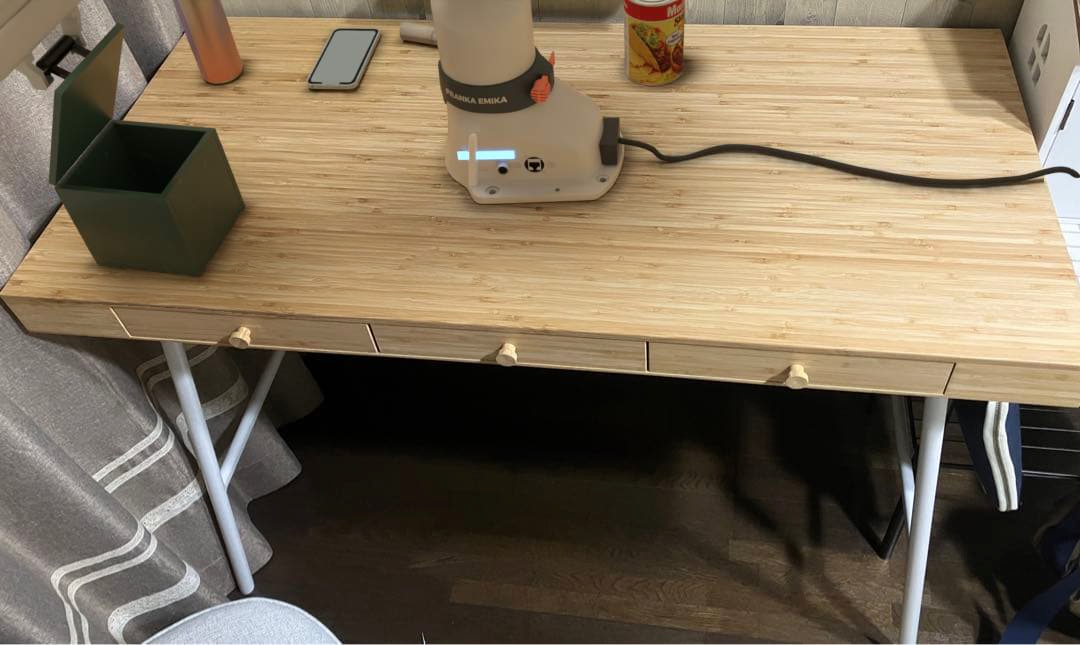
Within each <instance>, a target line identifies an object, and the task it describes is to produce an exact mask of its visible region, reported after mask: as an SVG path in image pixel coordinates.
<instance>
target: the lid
mask: <svg viewBox="0 0 1080 645" xmlns="http://www.w3.org/2000/svg"><path fill="white" fill-rule="evenodd" d="M125 27H126V25H125V24H122V23H120V22H117V23H115V24H114V26H113V27H112V28H111V29H110V30H109V31H108V32H107V33H106V34H105V35H104V36H103V37H102V38H101V39H100V41H99V42H98V43H97V44H96V45H95V46H94V47H93V48H92V49H91V50H90V49H89V48H87V47H85V48H84V47H82V46H80V45H78V44H76V42H75V40H74V39H73V38H72V37H71V36H69V35H63V34H62V35H61V36H60V37H59V38H58V39H57V40H56V41H55V42H54V43H53V44H52V45H51V46H50V47H49V48H48V50H46V51H45V52H44V54H43V55H41V56H40V57H39V59H37V61H36V62H35V65H36V66H37V67H39V68H42V67H45V68H49V70H50V72H51V75H54V76H56V77H58V78H61V79H62V80H63V81H62V82H61V83H60V84H59V85H57V87H56V88H55V89H54V90H53V104H52V105H53V106H52V109H53V110H52V121H51V139H50V152H49V153H50V154H49V169H48V170H49V171H48V184H50V185H52V186H54V187H55V186H56V185H57V184H58V183H59V182H60V180H61V179H62V178H63V177H64V176H65V174H66V173H67V172H68V171H69V170H70V169H71V167H72V166H73V165H74V164H75V163H76V161H77V160H78V159H79V158H80V157H81V155H82V154H83V153H84V152H85V151H86V149H87V148H88V147H89V146H90V145H91V143H92V142H93V141H94V140H95V139H96V137H97V136H98V135H99V134H100V133H101V131H102V130H103V129H104V128H105V127H106V125H107V124H109V122H110V121H111V120H112V119H113V118H114V113H115V105H116V98H117V96H116V95H117V89H118V81H119V74H120V66H121V59H122V50H123V43H124V35H125ZM71 51H72V52H74V53H77V54H78V55H79V56H80V57H83V59H82V60H81V62H80V63H78V65H77V66H76V67H75V68H74V69H73V70H72V71H68V70H66V69H65V68H63V67H60V66H59V65H60V64H61V63H62V61H64V59H65V58H66V57H67V56H68V55H70V54H69V53H70V52H71Z"/></svg>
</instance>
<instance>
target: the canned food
mask: <svg viewBox="0 0 1080 645" xmlns="http://www.w3.org/2000/svg"><path fill="white" fill-rule="evenodd" d="M622 3H623V42H624V43H623V44H624V47H623V48H624V50H623V52H624V72H625V75H626V76H627V78H628V79H629V80H630V81H632V82H634V83H636V84H639V85H642V86H647V87H651V86H652V87H656V86H664V85H668V84H670V83H672V82H674V81H676V80H678V78H680V77H681V76H682V74H683V70H684V54H685V53H684V49H685V48H684V47H685V19H686V18H685V16H686V0H623V2H622Z"/></svg>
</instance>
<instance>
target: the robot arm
mask: <svg viewBox="0 0 1080 645" xmlns="http://www.w3.org/2000/svg"><path fill="white" fill-rule="evenodd" d="M81 2H83V0H0V83H2V82H3V81H5V80H6V79H7V78H8V77H9V76H10V75H11V74H12V72H14V70H15V71H17V72H18V73H20V74H22V75H24V76H26V78H27V80H28V82H29V84H30V85H31V87H32V88H33V89H35V90H37V91H46V90H48V88H49V87H51V85H52V84H53V83H54V82H55V78H54V76H53V75H52V73H51V72H50V70H49V68H45V67H42V68H39V67H37V66H36V64H34V61H35V60H36V58H35V56H34V53H33V51H34V50H35V49H36V48H37V47H38V46H39V45H40V44H41V43H42V42H43V41H44V40H45V39H46V38H47V37H48V36H49V35H50V34H51V33H52V31H54V30H55V29H56V28H57V26H58V25H59V24H60V26H61V33H62V35H69V36H71V37H72V38H73V39H74V40H75V42H76V44H78V45H80V46H82V47H84V48H87V43H86V40H85V38H84V36H83V35H82V16H81V15H82V14H81V11H80V9H79V7H78V5H79V4H80V3H81ZM430 10H431V16H432V21H433V26H434V27H435V33H436V39H437V44H438V45H437V49H438V55H439V60H438V61H437V69H438V81H439V87H440V91H441V94H442V100H443V103H444V104H445V105H446V114H447V139H446V148H445V149H446V150H445V155H444V165H445V169H446V170H447V173H448V174H449V175H450V177H451V178H452V179H453V180H455V181H456V182H457V183H459V184H460V185H462V186H463V187H464V188H466V189H467V190H468V194H469V195H470V197H471V198H472V200H473V201H474V202H475V203H477V204H480V205H493V204H494V205H495V204H517V203H518V204H520V203H521V204H523V203H525V204H526V203H548V202H550V203H551V202H554V203H555V202H577V201H578V202H580V201H581V202H582V201H594V200H598V199H600V198H601V197H603V196H604V195H605V194H607V192H608V191H609V190H610V189H611V188H612V187H613V185H614V184H615V183H616V181H617V179H618V177H619V175H620V172H621V170H622V167H623V165H624V164H623V163H624V159H625V151H626V150H625V146H630V147H635V148H640V149H643V150H646V151H648V152H649V153H651V154H652V155H654V156H655V157H656V158H657V159H658V160H659V161H663V162H668V163H680V162H686V161H690V160H694V159H697V158H701V157H704V156H707V155H710V154H714V153H717V152H724V151H749V152H757V153H758V152H759V153H765V154H770V155H776V156H780V157H785V158H791V159H796V160H802V161H807V162H811V163H815V164H820V165H825V166H828V167H832V168H835V169H840V170H844V171H848V172H852V173H853V172H854V173H856V174H862V175H867V176H872V177H879V178H883V179H888V180H894V181H900V182H906V183H911V184H912V183H913V184H922V185H931V186H932V185H933V186H950V187H951V186H953V187H954V186H955V187H963V186H964V187H965V186H966V187H967V186H985V185H998V184H1011V183H1020V182H1025V181H1030V180H1033V179H1037V178H1041V177H1043V176H1048V175H1053V174H1059V173H1060V174H1067V175H1069V176H1071V177H1072V178H1074V179H1080V172H1078V171H1077V170H1075V169H1074V168H1071V167H1068V166H1064V165H1059V166H1058V165H1057V166H1050V167H1045V168H1043V169H1039V170H1036V171H1031V172H1028V173H1024V174H1019V175H1018V174H1017V175H1010V176H997V177H985V178H968V179H967V178H965V179H963V178H959V179H958V178H957V179H956V178H953V179H952V178H935V177H934V178H933V177H923V176H915V175H909V174H908V175H906V174H901V173H894V172H889V171H885V170H879V169H874V168H868V167H863V166H858V165H853V164H849V163H845V162H841V161H836V160H833V159H830V158H824V157H820V156H817V155H812V154H807V153H801V152H796V151H791V150H785V149H780V148H775V147H770V146H763V145H756V144H746V143H725V144H719V145H715V146H710V147H707V148H704V149H700V150H699V151H698V150H697V151H695V152H691V153H688V154H684V155H668V154H667V155H666V154H662V152H661V151H659V150H658V149H657V148H656V147H655V146H653V145H652V144H649V143H646V142H643V141H640V140H636V139H635V140H634V139H630V138H624V136H623V133H622V132H621V120H620V118H621V117H620V116H619V117H618V116H616V117H615V116H613V117H611V116H609V117H607V116H606V117H605V116H603V113H602V110H601V108H600V105H599V104H598V103H597V101H596V100H594V98H593V97H591V96H589V95H587V94H586V93H584V92H582V91H580V90H578V89H577V88H575V87H573V86H571V85H570V84H568V83H567V82H566V81H563V80H562V79H560V78H559V77H557V76H555V69H554V66H555V64H556V58H555V51H553V50H552V51H551V53H550V56H549V59H547V58H546V57H545V56H543V54H541V52H540V51H539V49H538V48H537V46H536V44H535V33H534V32H535V31H534V21H533V9H532V0H430ZM68 55H76V56H77V55H79V54H77V53H74V52H72V51H71V52H70V53H69V54H68Z"/></svg>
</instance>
